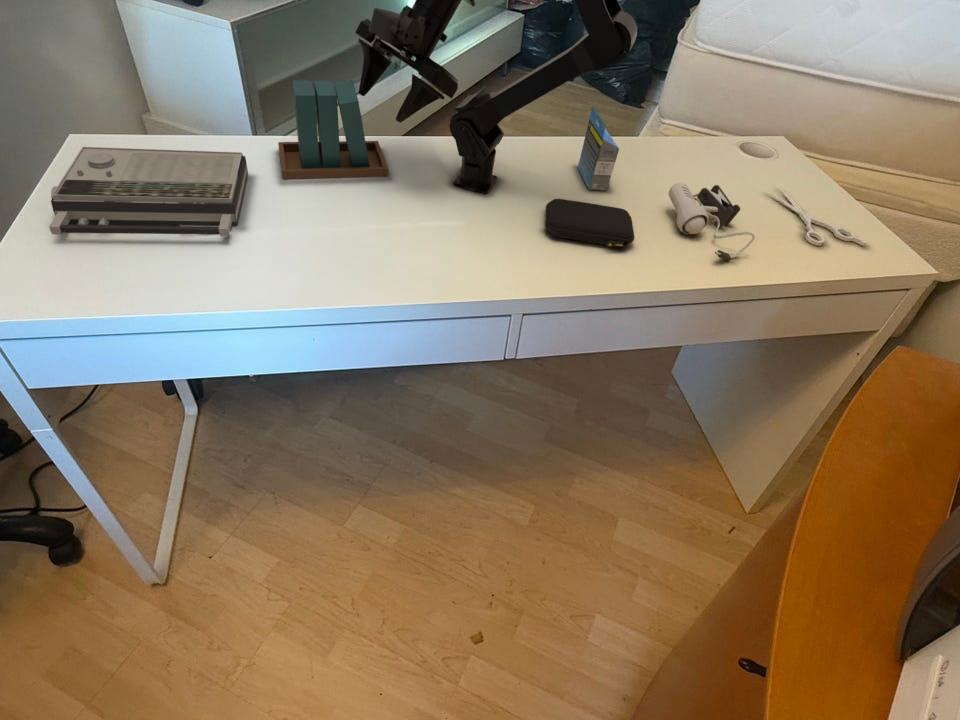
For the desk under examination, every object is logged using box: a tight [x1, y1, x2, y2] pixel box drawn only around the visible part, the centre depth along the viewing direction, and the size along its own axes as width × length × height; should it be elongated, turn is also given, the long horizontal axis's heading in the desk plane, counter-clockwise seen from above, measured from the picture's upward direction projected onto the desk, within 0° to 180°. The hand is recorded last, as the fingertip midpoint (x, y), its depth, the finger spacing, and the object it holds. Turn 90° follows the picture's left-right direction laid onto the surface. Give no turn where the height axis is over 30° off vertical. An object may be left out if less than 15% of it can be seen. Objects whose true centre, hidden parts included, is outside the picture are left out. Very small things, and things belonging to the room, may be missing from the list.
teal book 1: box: [292, 79, 320, 169], centre depth 102 cm, size 3×6×13 cm, turn 16°
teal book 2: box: [313, 80, 341, 168], centre depth 103 cm, size 3×6×13 cm, turn 16°
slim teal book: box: [333, 79, 370, 167], centre depth 103 cm, size 3×6×13 cm, turn 15°
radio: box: [48, 146, 249, 237], centre depth 91 cm, size 24×5×20 cm
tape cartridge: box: [577, 104, 620, 192], centre depth 112 cm, size 9×4×12 cm, turn 8°
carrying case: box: [544, 198, 635, 248], centre depth 102 cm, size 11×3×15 cm
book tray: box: [277, 140, 389, 181], centre depth 108 cm, size 18×11×2 cm, turn 106°
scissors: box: [766, 188, 867, 247], centre depth 115 cm, size 11×1×20 cm
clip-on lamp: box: [668, 182, 756, 262], centre depth 105 cm, size 12×6×18 cm
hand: (379, 107), depth 97 cm, fingers open, 9 cm apart
